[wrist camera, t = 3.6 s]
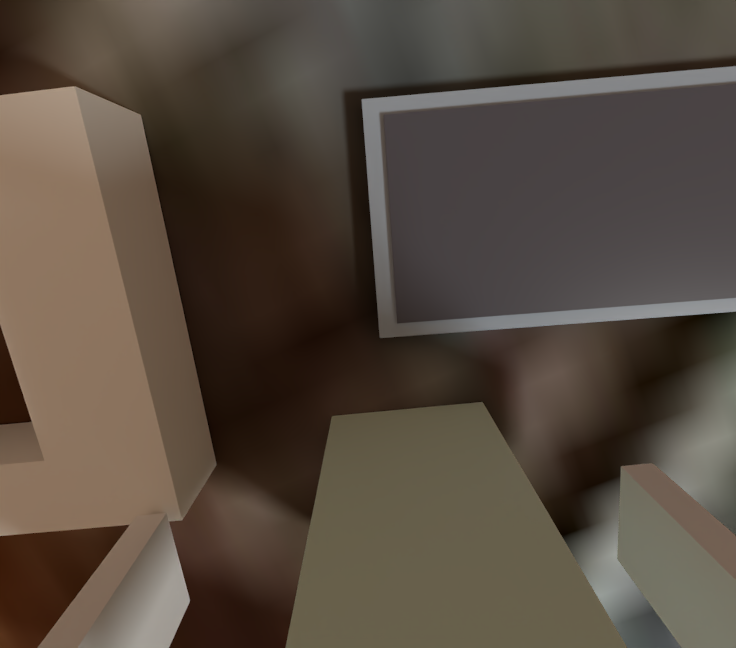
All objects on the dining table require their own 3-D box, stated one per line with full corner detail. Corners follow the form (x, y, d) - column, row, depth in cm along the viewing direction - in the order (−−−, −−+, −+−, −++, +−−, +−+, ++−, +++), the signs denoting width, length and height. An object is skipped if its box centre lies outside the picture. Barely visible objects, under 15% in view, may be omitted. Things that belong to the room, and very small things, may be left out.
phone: (756, 300, 13) (792, 308, 11) (378, 329, 13) (379, 339, 12) (788, 71, 11) (832, 56, 10) (362, 109, 11) (361, 98, 10)
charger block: (488, 530, 14) (777, 1317, 4) (349, 541, 14) (295, 1324, 4) (482, 402, 13) (860, 1045, 3) (331, 415, 13) (200, 1071, 3)
